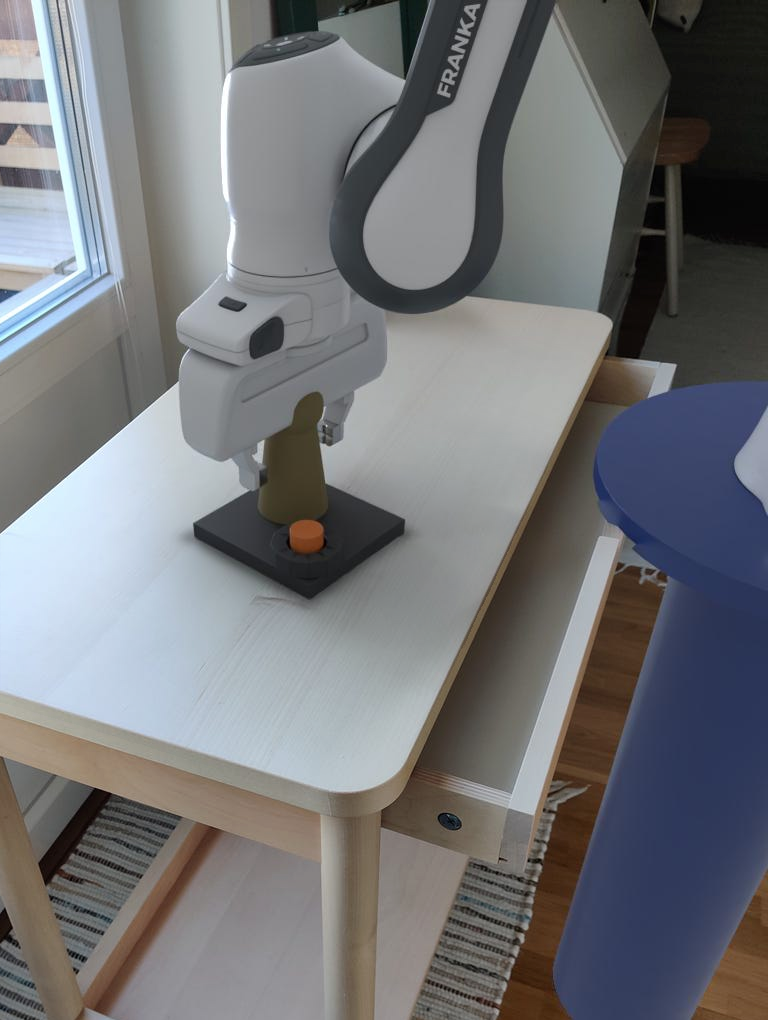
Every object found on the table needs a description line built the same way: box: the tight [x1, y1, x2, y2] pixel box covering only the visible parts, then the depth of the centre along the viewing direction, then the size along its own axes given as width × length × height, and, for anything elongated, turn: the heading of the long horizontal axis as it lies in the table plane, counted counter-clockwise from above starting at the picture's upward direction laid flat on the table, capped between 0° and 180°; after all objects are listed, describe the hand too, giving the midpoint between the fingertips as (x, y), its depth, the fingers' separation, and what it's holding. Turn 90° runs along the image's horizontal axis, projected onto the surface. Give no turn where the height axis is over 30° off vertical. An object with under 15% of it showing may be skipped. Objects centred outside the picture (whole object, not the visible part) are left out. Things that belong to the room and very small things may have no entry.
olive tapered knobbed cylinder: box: [258, 391, 328, 525], centre depth 78 cm, size 6×6×11 cm
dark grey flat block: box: [192, 483, 406, 600], centre depth 79 cm, size 13×12×3 cm
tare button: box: [290, 520, 324, 554], centre depth 74 cm, size 3×3×2 cm
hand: (293, 462), depth 79 cm, fingers open, 8 cm apart
